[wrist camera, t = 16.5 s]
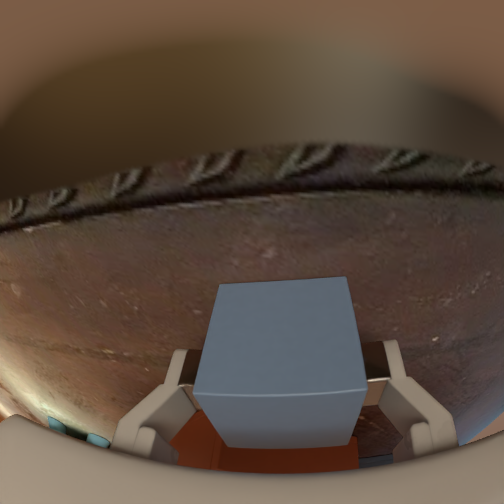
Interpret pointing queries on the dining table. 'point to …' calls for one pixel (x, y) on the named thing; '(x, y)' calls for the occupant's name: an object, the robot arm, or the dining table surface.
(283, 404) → the blue block
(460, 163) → the dining table surface
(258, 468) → the terracotta bin
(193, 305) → the dining table surface
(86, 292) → the dining table surface
